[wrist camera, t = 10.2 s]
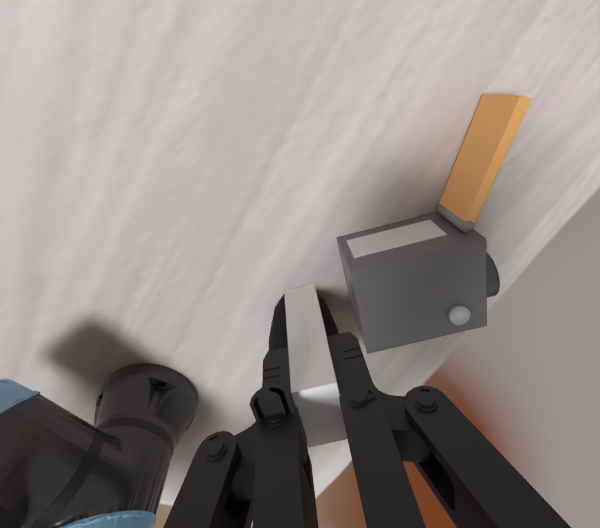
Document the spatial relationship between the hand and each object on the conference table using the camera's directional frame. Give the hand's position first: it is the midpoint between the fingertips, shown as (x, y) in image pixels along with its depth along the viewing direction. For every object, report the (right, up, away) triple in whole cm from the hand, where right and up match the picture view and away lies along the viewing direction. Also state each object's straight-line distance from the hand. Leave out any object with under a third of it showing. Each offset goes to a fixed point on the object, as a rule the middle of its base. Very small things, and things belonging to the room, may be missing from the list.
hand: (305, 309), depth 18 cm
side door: (+20, +15, +26) cm, 36 cm away
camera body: (+15, +3, +33) cm, 36 cm away
